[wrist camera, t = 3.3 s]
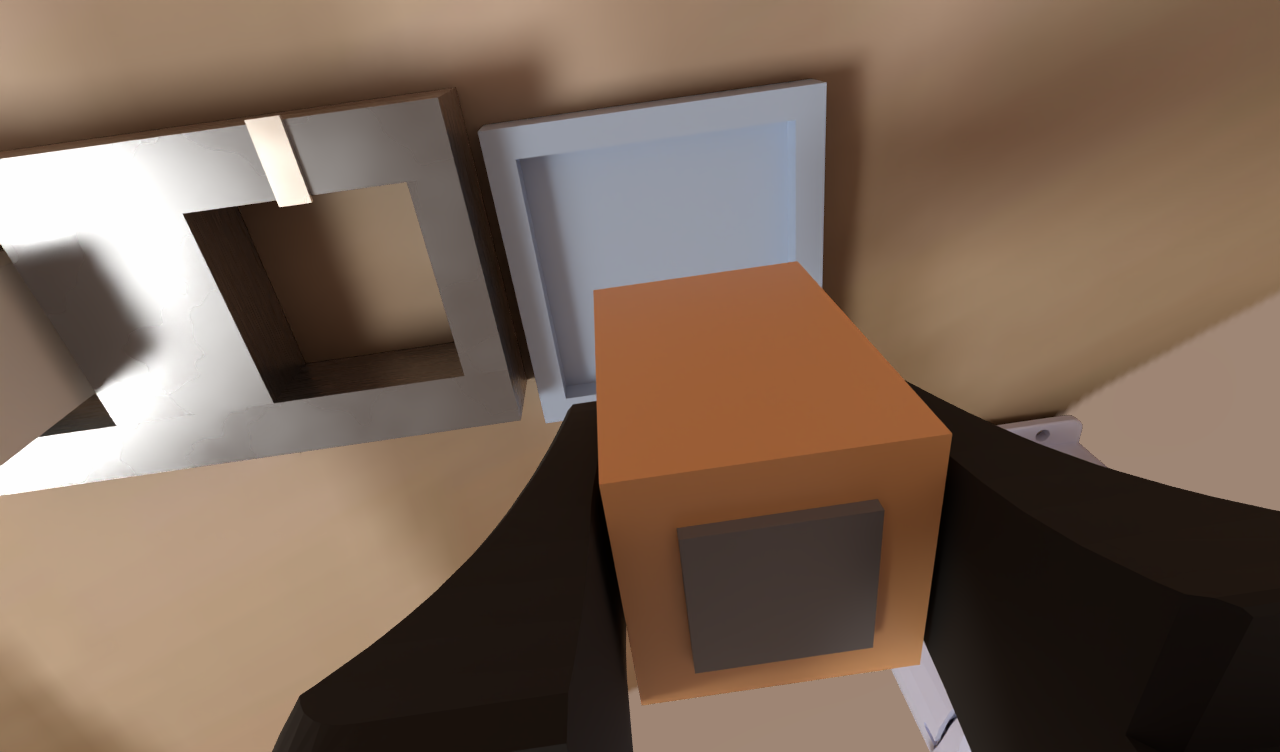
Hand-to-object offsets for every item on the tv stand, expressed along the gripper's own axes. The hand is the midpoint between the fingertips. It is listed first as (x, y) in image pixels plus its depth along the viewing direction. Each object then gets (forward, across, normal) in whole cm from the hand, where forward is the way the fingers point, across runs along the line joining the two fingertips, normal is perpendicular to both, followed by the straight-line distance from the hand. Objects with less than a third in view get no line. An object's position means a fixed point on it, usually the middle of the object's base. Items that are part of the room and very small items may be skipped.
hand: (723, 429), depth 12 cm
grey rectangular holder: (+9, +14, -1) cm, 17 cm away
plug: (+2, 0, 0) cm, 2 cm away
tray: (+9, 0, 0) cm, 9 cm away
